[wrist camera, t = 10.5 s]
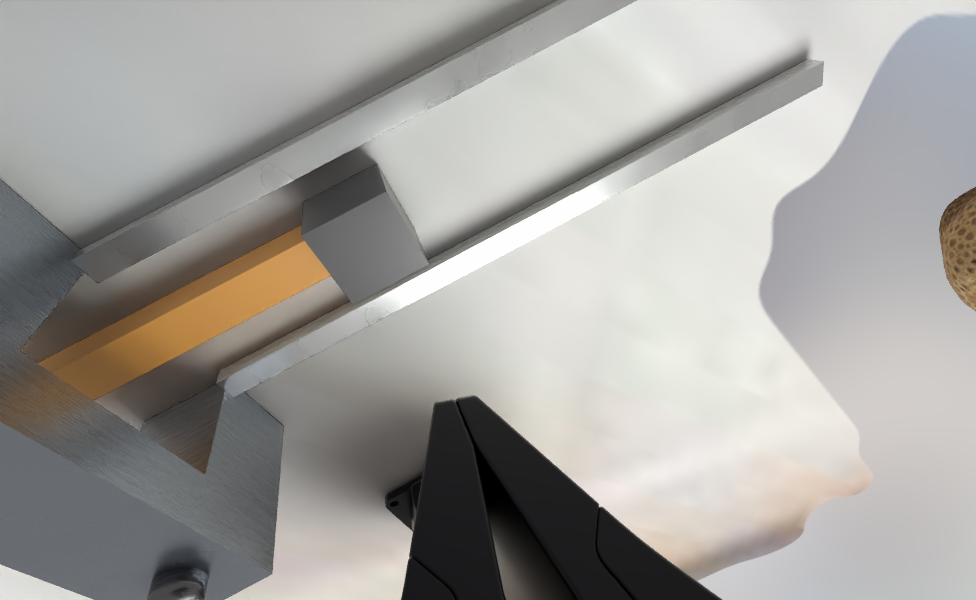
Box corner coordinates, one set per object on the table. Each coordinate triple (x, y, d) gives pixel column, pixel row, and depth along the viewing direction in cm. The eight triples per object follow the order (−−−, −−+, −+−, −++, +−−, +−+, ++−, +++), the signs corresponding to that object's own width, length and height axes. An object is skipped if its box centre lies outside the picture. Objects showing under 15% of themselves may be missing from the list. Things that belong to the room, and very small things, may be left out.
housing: (803, 149, 22) (991, 210, 16) (208, 466, 22) (164, 654, 16) (824, -378, 13) (1301, -726, 7) (-231, 166, 12) (-781, 342, 6)
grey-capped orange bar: (366, 144, 17) (377, 180, 13) (423, 244, 19) (444, 294, 16) (-236, 459, 16) (-372, 573, 13) (-93, 516, 19) (-176, 622, 16)
